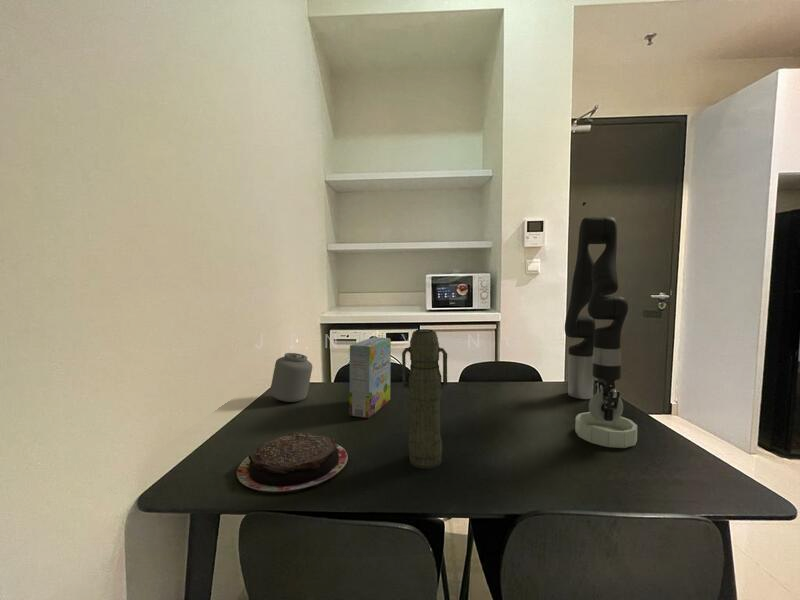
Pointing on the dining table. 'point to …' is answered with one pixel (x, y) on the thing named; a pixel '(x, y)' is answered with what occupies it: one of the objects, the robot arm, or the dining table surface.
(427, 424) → the thermos
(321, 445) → the chocolate cake
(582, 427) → the bowl
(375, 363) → the snack box
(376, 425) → the dining table surface
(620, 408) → the donut
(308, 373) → the jar
